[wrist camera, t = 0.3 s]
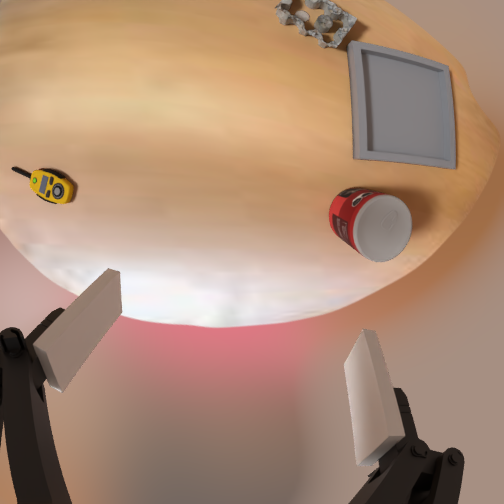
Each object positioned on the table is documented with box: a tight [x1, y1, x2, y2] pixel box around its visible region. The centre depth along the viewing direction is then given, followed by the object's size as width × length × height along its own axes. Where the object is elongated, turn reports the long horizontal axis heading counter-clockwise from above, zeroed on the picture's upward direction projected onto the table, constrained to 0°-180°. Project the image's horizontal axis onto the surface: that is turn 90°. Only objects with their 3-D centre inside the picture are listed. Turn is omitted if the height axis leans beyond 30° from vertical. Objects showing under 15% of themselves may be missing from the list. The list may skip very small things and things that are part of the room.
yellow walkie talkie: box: [12, 167, 74, 204], centre depth 37 cm, size 5×2×15 cm
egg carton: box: [275, 0, 357, 48], centre depth 31 cm, size 11×8×4 cm
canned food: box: [329, 187, 412, 262], centre depth 36 cm, size 8×8×11 cm
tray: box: [347, 40, 456, 169], centre depth 36 cm, size 18×18×2 cm
